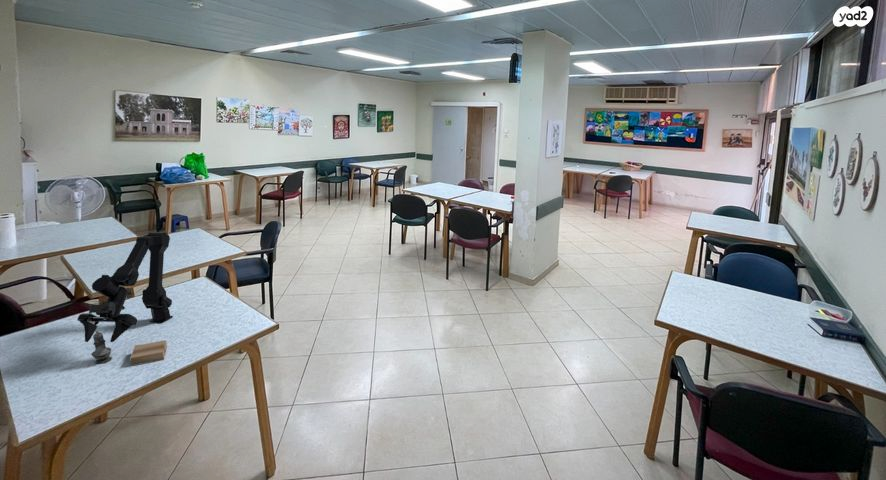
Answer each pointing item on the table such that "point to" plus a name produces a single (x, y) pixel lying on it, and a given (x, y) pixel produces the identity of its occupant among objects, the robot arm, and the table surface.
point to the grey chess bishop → (101, 349)
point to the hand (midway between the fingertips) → (98, 342)
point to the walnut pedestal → (148, 352)
